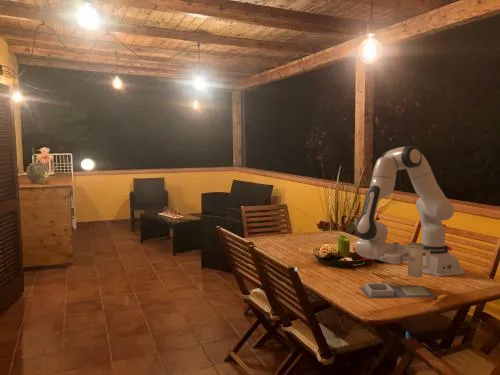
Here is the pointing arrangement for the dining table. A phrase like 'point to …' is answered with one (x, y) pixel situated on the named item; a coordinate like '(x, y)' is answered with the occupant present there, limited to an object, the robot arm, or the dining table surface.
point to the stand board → (395, 291)
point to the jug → (417, 259)
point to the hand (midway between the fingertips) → (417, 257)
